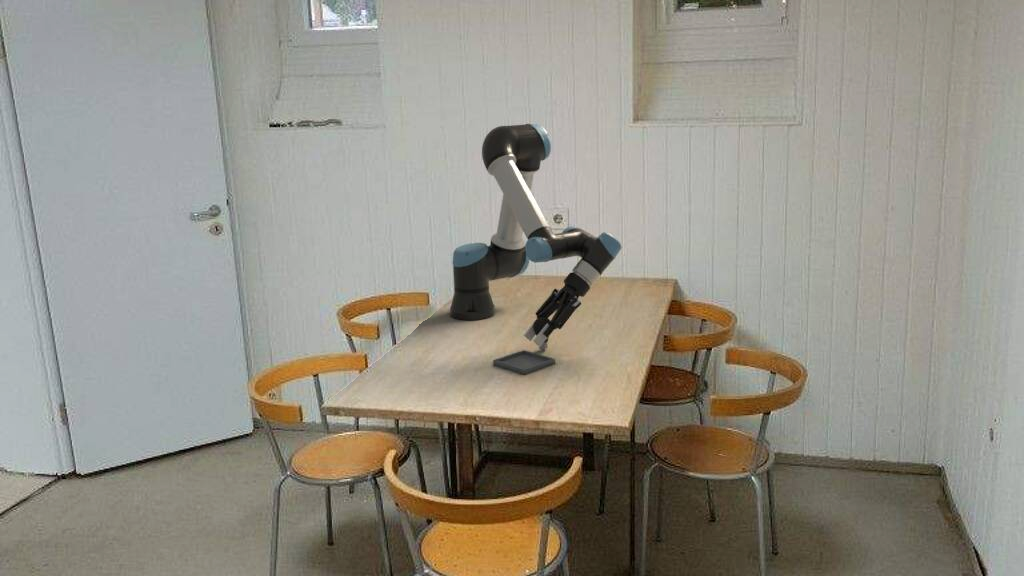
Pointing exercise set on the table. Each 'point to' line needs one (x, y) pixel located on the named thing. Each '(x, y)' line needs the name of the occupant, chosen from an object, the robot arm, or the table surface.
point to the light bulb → (539, 326)
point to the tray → (524, 362)
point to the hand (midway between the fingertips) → (531, 340)
